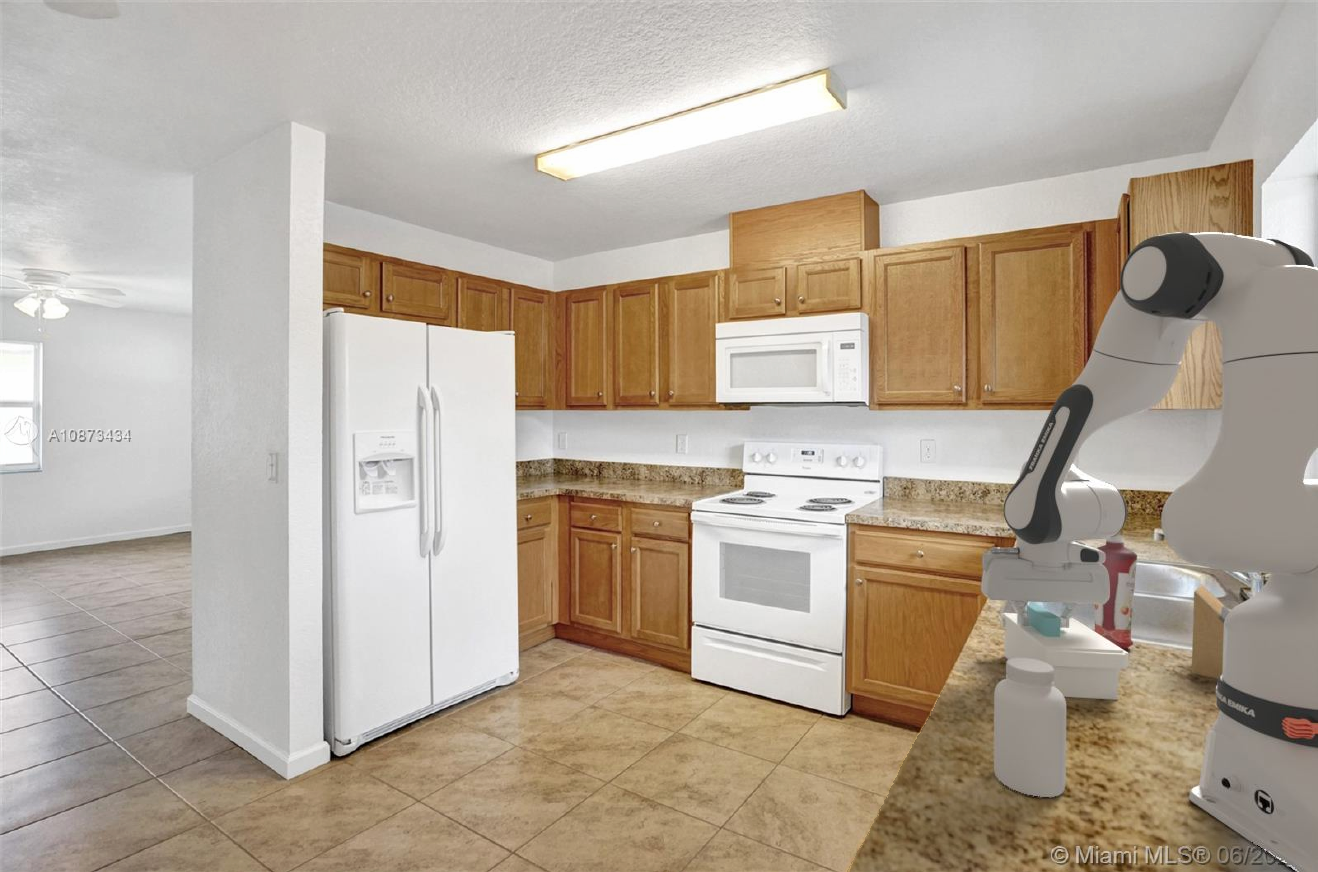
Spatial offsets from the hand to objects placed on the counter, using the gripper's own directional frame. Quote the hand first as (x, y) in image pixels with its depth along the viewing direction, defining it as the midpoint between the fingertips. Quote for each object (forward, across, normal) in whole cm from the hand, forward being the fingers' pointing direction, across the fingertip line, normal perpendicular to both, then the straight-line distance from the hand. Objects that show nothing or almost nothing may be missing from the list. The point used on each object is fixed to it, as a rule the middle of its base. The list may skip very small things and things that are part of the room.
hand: (1042, 626), depth 118 cm
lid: (+3, +3, 0) cm, 4 cm away
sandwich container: (+9, +36, +4) cm, 37 cm away
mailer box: (+9, +2, 0) cm, 9 cm away
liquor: (+9, +20, +18) cm, 29 cm away
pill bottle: (+9, -16, -37) cm, 42 cm away
